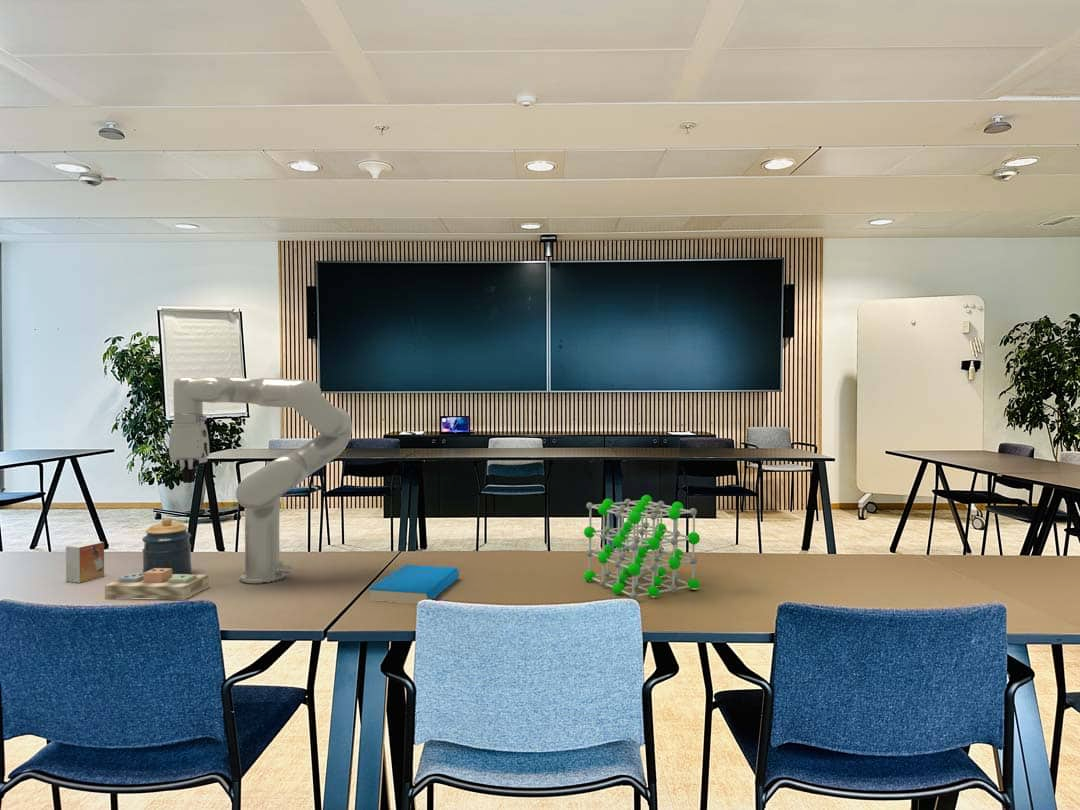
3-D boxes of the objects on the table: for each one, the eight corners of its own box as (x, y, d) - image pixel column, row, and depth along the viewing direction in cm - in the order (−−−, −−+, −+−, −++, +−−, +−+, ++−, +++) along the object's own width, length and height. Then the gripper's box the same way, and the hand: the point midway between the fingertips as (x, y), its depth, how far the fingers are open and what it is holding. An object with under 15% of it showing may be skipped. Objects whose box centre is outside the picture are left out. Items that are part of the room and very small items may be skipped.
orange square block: (172, 579, 190) (172, 567, 190) (161, 584, 185) (161, 572, 185) (155, 578, 190) (154, 567, 190) (143, 583, 185) (143, 572, 185)
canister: (163, 569, 213) (163, 513, 212) (200, 571, 210) (200, 514, 210) (132, 580, 200) (131, 520, 199) (171, 582, 198) (170, 522, 197)
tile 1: (196, 585, 190) (196, 573, 190) (186, 590, 185) (186, 578, 185) (179, 584, 190) (179, 573, 190) (168, 590, 185) (168, 578, 185)
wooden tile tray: (208, 587, 193) (208, 574, 193) (184, 600, 181) (184, 586, 181) (134, 585, 194) (133, 573, 194) (104, 598, 182) (104, 585, 182)
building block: (148, 584, 190) (148, 572, 190) (136, 589, 185) (136, 577, 185) (131, 583, 191) (130, 572, 191) (119, 589, 186) (118, 577, 186)
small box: (79, 583, 197) (78, 547, 196) (65, 581, 198) (64, 546, 198) (105, 576, 204) (104, 541, 204) (91, 574, 206) (91, 540, 206)
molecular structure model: (646, 570, 212) (647, 493, 211) (702, 591, 190) (703, 505, 190) (581, 581, 200) (581, 499, 200) (633, 604, 178) (633, 513, 178)
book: (368, 588, 181) (404, 563, 205) (368, 604, 181) (404, 577, 205) (429, 592, 177) (459, 566, 202) (429, 608, 177) (459, 580, 202)
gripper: (220, 419, 202) (220, 480, 202) (171, 419, 203) (172, 480, 203) (206, 420, 194) (206, 484, 195) (155, 420, 195) (156, 483, 196)
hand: (189, 482), depth 199 cm, fingers closed
